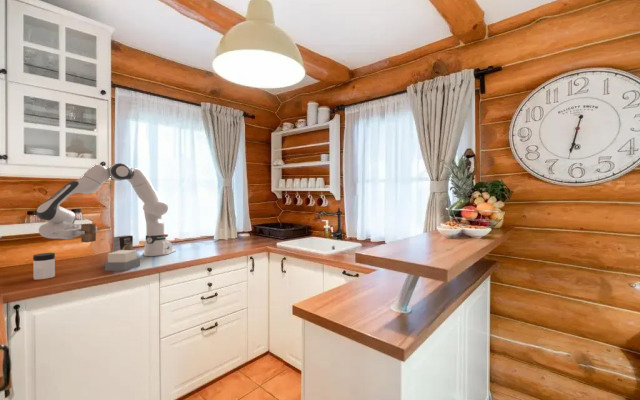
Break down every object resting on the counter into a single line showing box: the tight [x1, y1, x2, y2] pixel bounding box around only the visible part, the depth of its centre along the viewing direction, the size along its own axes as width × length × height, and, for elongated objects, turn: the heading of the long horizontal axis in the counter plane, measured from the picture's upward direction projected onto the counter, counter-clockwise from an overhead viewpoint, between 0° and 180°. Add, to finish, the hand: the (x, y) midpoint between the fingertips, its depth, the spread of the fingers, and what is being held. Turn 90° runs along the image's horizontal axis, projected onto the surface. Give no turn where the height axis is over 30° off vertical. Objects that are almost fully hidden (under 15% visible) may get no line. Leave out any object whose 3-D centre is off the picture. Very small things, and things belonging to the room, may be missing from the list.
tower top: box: [107, 249, 138, 262], centre depth 166 cm, size 10×10×5 cm
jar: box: [32, 252, 56, 281], centre depth 147 cm, size 9×8×12 cm
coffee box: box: [112, 235, 134, 252], centre depth 183 cm, size 9×6×16 cm
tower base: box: [104, 257, 141, 272], centre depth 166 cm, size 12×12×5 cm
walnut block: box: [80, 222, 97, 243], centre depth 161 cm, size 4×4×10 cm
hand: (89, 231), depth 161 cm, fingers closed on walnut block, 4 cm apart
